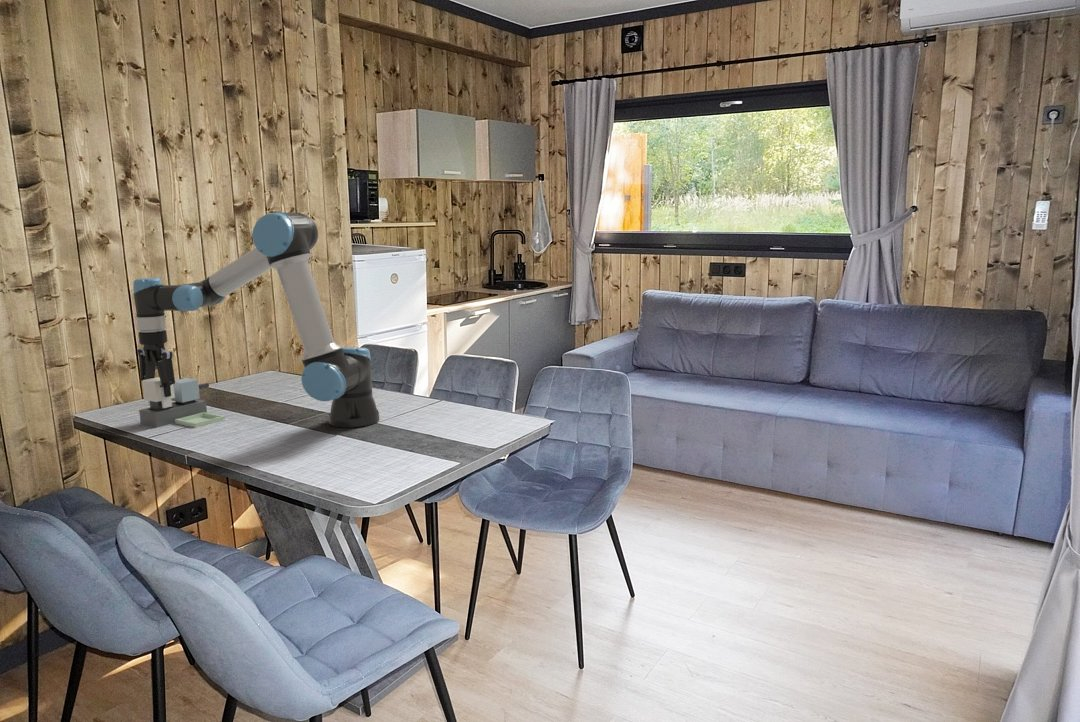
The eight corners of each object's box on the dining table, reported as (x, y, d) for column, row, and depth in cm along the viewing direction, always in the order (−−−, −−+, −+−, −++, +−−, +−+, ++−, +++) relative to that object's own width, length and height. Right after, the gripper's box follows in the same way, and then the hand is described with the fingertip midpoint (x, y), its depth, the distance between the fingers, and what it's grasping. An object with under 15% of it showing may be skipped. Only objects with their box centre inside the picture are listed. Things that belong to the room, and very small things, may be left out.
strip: (218, 413, 243) (214, 376, 240) (157, 429, 225) (152, 390, 223) (202, 410, 247) (198, 374, 244) (140, 426, 229) (136, 387, 227)
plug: (158, 418, 226) (154, 382, 224) (146, 415, 229) (142, 380, 227) (176, 413, 231) (172, 378, 229) (164, 411, 234) (160, 376, 232)
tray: (224, 421, 233) (224, 416, 232) (196, 429, 224) (195, 423, 224) (204, 417, 238) (203, 412, 237) (175, 425, 229) (174, 419, 229)
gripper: (183, 330, 224) (191, 406, 228) (145, 326, 233) (153, 399, 237) (159, 334, 217) (168, 412, 221) (121, 329, 227) (129, 404, 231)
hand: (160, 405), depth 229 cm, fingers closed on plug, 6 cm apart
